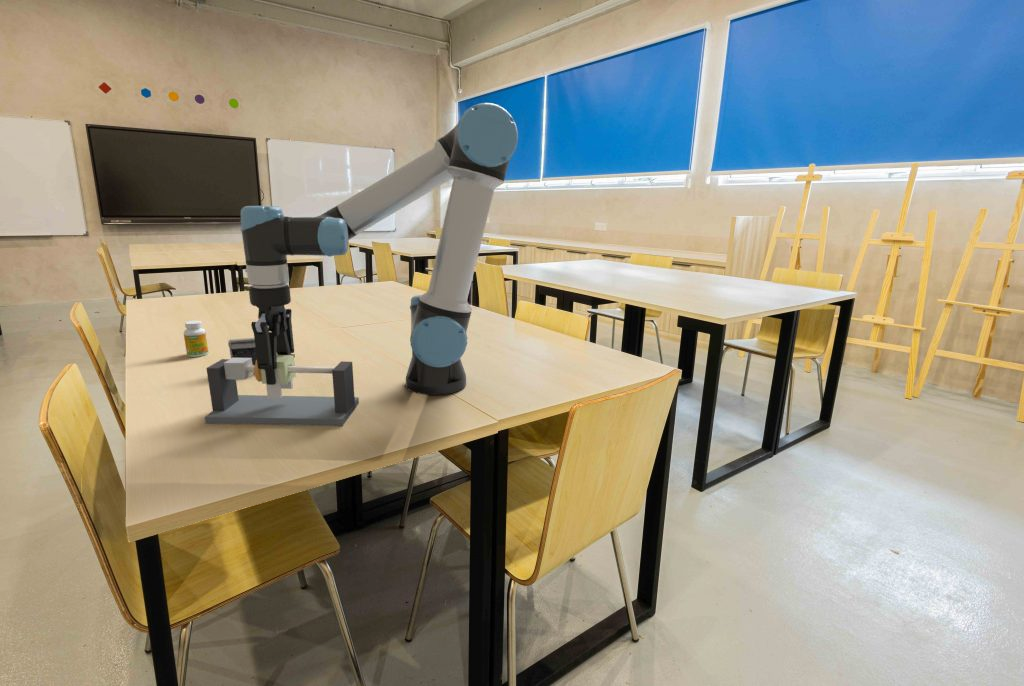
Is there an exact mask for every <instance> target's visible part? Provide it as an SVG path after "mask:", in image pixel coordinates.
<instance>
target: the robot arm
mask: <svg viewBox="0 0 1024 686" xmlns="http://www.w3.org/2000/svg"><path fill="white" fill-rule="evenodd" d="M518 140H519V131H518V126H517V123H516V122H515V119H514V118H513V116H512V115H511V113H509V111H507V109H505V108H504V107H502V106H501V105H500V104H495V103H492V102H481V103H478V104H477V103H476V104H474V105H472V106H470V107H468V108H467V109H466V110H465V111H464V112H463V113H462V114H461V116H460V118H459V120H458V122H457V124H456V125H455V126H454V127H453V128H452V129H451V130H450V131H449V132H447V133H446V134H445V135H444V136H442V137H440V138H439V139H436V140H435V143H434V146H433V148H431V149H429V150H428V151H426V152H425V153H423V154H421V155H419V156H418V157H416V158H414V159H413V160H411V161H409V162H408V163H406V164H404V165H403V166H401V167H399V168H397V169H396V170H394V171H393V172H390V173H389V174H388V175H385V176H384V177H382V178H381V179H379V180H378V181H376V182H374V183H373V184H370V185H369V186H367V187H366V188H364V189H363V190H361V191H359V192H357V193H356V194H354V195H352V196H350V197H349V198H347V199H346V200H344V201H342V202H341V203H338V204H337V205H336V206H334V207H332V208H330V209H328V210H327V211H325V212H324V213H321V214H320V215H317V216H315V217H314V216H313V217H312V216H311V217H310V216H307V217H305V216H303V217H299V216H297V217H295V216H294V217H292V216H285V215H284V213H283V209H282V207H280V206H276V205H275V206H274V205H273V206H272V205H246V206H243V207H242V208H241V209H240V223H241V225H240V226H241V227H240V232H241V236H242V237H241V238H242V244H243V251H244V259H245V267H246V268H245V270H244V272H246V275H247V283H248V284H249V285H250V286H249V288H248V295H249V302H250V304H251V306H254V307H256V308H258V315H257V317H258V319H257V321H252V322H251V325H250V326H251V330H252V333H253V338H254V339H255V348H256V356H257V365H258V369H264V370H265V378H266V384H265V385H266V387H265V388H266V393H267V394H266V396H268V398H282V396H283V390H282V389H285V390H292V389H293V388H294V383H293V379H292V380H291V381H290V382H288V383H287V384H281V380H280V370H279V368H277V355H294V358H295V357H296V356H295V344H294V335H293V324H292V323H293V322H292V314H293V313H292V308H285V306H286V305H289V304H290V303H291V301H292V298H291V287H290V285H289V284H288V283H289V282H290V276H289V275H290V274H289V266H288V258H287V257H288V256H321V257H322V256H327V257H332V256H333V257H334V256H345V255H346V254H347V253H348V250H349V241H350V240H351V239H353V238H355V237H356V236H357V235H359V234H361V233H362V232H365V230H367V229H369V228H371V227H373V226H374V225H376V224H378V223H380V222H382V221H383V220H386V218H388V217H390V216H391V215H393V214H395V213H396V212H398V211H400V210H402V209H403V208H405V207H406V206H409V204H410V205H411V204H412V203H414V202H415V201H417V200H418V199H420V198H422V197H423V196H425V195H426V194H428V193H430V192H432V191H433V190H435V189H437V188H439V187H440V186H443V185H444V184H445V183H447V182H449V181H450V180H452V184H451V188H450V193H449V197H448V202H447V206H446V211H445V214H444V219H443V223H442V228H441V233H440V235H439V236H440V237H439V242H438V245H437V251H436V255H435V258H434V259H435V260H434V264H433V268H432V271H431V276H430V282H429V286H428V290H427V291H426V292H424V293H423V294H420V295H419V294H418V295H414V296H412V297H411V299H410V306H409V309H410V327H411V329H410V337H409V342H410V348H411V359H410V362H409V365H408V368H407V372H406V374H405V375H406V376H405V386H406V389H407V390H409V391H410V392H413V393H416V394H420V395H427V396H429V395H430V396H437V395H438V396H439V395H450V394H453V393H457V392H459V391H461V390H463V389H464V388H465V387H466V385H467V375H466V371H465V368H464V365H463V362H462V359H461V358H462V357H463V355H464V353H465V352H466V351H467V350H466V349H467V346H468V335H467V332H468V331H467V330H468V327H469V324H470V323H469V322H470V321H471V320H470V319H471V316H472V315H471V314H472V311H473V309H472V307H471V305H470V304H469V302H468V298H469V294H470V290H471V286H472V281H473V278H474V273H475V270H476V269H475V268H476V265H477V263H478V262H477V261H478V258H479V253H480V250H481V245H482V241H483V237H484V233H485V229H486V224H487V220H488V217H489V212H490V209H491V204H492V200H493V197H494V191H495V190H496V189H497V188H498V187H500V186H502V185H503V184H504V183H505V178H506V175H507V170H508V167H509V162H510V160H511V158H512V157H513V155H514V154H515V151H516V150H517V146H518Z"/></svg>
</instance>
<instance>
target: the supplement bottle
mask: <svg viewBox="0 0 1024 686" xmlns="http://www.w3.org/2000/svg"><path fill="white" fill-rule="evenodd" d="M202 325H203V323H202V321H201V320H189V321H186V322H184V327H185V328H186V329H184V331H183V337H184V338H183V339H184V343H185V344H184V345H185V351H186V356H187V357H191V358H199V357H200V358H201V357H204V356H206V355H208V354H209V347H208V340H207V332H206V330H205V329H204V328H203V326H202Z"/></svg>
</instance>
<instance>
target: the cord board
mask: <svg viewBox="0 0 1024 686" xmlns="http://www.w3.org/2000/svg"><path fill="white" fill-rule="evenodd" d="M287 367H288V373H295V374H330V375H332V387H333V388H332V389H333V396H317V395H316V396H311V395H310V396H309V395H307V396H306V395H282V398H268V396H267V395H256V394H254V395H253V394H249V395H248V394H239V392H238V387H237V386H238V383H237V380H247V379H249V377H251V376H253V375H254V377H255V379H256V381H258V382H259V383H260V382H261V383H262V377H261V369H258V365H257V360H256V362H255V365H252V358H231V357H230V359H228V358H226V359H225V358H222V359H220V360H218V361H217V362H215V363H213V364H212V365H209V366H208V367H206V374H207V380H208V388H209V394H210V401H211V407H212V408H211V409H212V410H211V411H210V412H209V413H208V414H207V415H205V416H204V421H205V422H204V423H205V424H208V425H265V426H267V425H271V426H273V425H275V426H277V425H278V426H326V427H327V426H329V427H330V426H331V427H332V426H333V427H336V426H337V427H343V426H345V424H346V422H347V420H348V419H349V418H350V417H351V415H352V414H353V412H354V411H355V410H356V408H357V407H358V406H359V404H360V398H359V396H355V384H354V383H355V382H354V370H353V368H354V367H353V361H340V362H339V363H338V364H337V365H336V366H309V365H308V366H307V365H306V366H301V365H300V366H299V365H295V366H287Z"/></svg>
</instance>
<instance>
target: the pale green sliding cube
mask: <svg viewBox="0 0 1024 686" xmlns="http://www.w3.org/2000/svg"><path fill="white" fill-rule="evenodd" d="M287 366H296V365H295V357H294V355H277V368H279V370H280V380H281V384H287V383H288V382H290V381H291V380H292V381H293V379H294V378H296V373H288V367H287ZM261 377H262V382H261V384H262V385H263V384H265V385H266V378H265V370H264V369H261Z"/></svg>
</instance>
